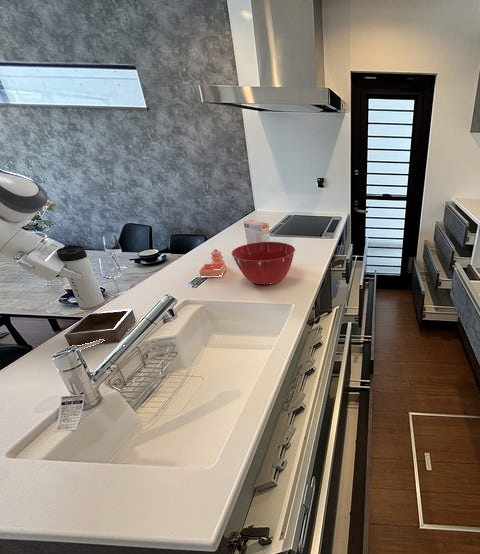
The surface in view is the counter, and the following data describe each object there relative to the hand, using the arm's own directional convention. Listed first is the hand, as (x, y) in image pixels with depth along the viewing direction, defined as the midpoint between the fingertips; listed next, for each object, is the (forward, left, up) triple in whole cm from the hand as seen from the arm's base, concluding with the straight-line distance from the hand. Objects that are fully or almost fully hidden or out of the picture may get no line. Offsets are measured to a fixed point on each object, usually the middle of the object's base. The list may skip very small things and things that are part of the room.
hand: (82, 273), depth 94 cm
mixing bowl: (+52, +37, -24) cm, 68 cm away
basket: (-1, +2, -24) cm, 24 cm away
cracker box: (+47, +70, -24) cm, 87 cm away
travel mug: (-1, 0, -12) cm, 12 cm away
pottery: (+26, +53, -24) cm, 64 cm away
